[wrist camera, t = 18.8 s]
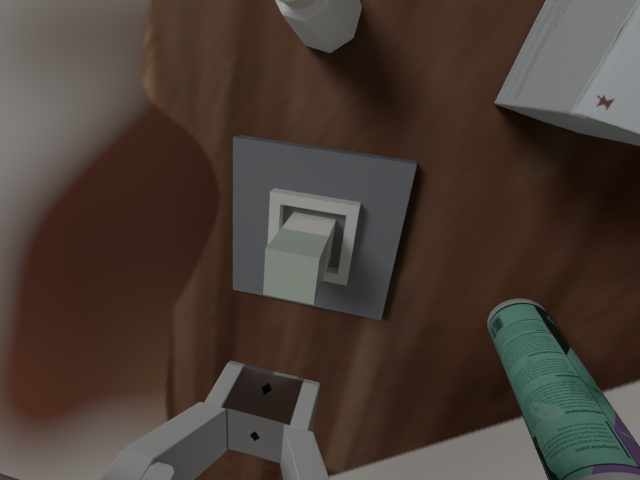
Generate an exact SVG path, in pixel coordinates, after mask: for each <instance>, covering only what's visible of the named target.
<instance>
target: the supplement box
mask: <svg viewBox="0 0 640 480" xmlns="http://www.w3.org/2000/svg"><path fill="white" fill-rule="evenodd" d="M495 104H496V105H499V106H501V107H504V108H507V109H510V110H512V111H515V112H518V113H521V114H523V115H526V116H529V117H532V118H535V119H537V120H540V121H543V122H546V123H549V124H552V125H555V126H558V127H561V128H565V129H568V130H571V131H574V132H577V133H580V134H586V135H590V136H595V137H600V138H605V139H610V140H614V141H619V142H624V143H628V144H633V145H638V146H640V0H546V1H545V3H544V5H543V7H542V9H541V11H540V13H539V15H538V16H537V18H536V20H535V22H534V24H533V26H532V28H531V30H530V32H529V34H528V36H527V38H526V40H525V42H524V44H523V46H522V48H521V50H520V52H519V54H518V56H517V58H516V60H515V62H514V64H513V66H512V68H511V70H510V72H509V74H508V76H507V79H506V81H505V83H504V85H503V87H502V89H501V91H500V93H499V95H498V97H497V99H496V101H495Z"/></svg>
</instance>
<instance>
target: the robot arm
mask: <svg viewBox="0 0 640 480" xmlns="http://www.w3.org/2000/svg"><path fill="white" fill-rule="evenodd" d="M319 390H320V383H319V382H315V381H311V380H307V379H304V378H300V377H295V376H291V375H287V374H282V373H278V372H272V371H268V370H264V369H261V368H257V367H254V366H250V365H246V364H242V363H238V362H235V361H230V362H229V363H228V364H227V365H226V367H225V368H224V370H223V372H222V373H221V375H220V377H219V379H218V380H217V382H216V384H215V385H214V387H213V389H212V390H211V392H210V394H209V396H208V397H207V399H206V401H205V402H204V403H203V402H199V403H197V404H195V405H194V406H192V407H191V408H189V409H187V410H186V411H184V412H182V413H181V414H179V415H178V416H176V417H174V418H173V419H171V420H169V421H168V422H166V423H165V424H163V425H161V426H160V427H158V428H157V429H155V430H153V431H152V432H150V433H148V434H147V435H145V436H143V437H142V438H140V439H139V440H137V441H135V442H134V443H132V444H131V445H129V446H127V447H126V448H124V449H122V451H121V452H120V454H119V455H118V456H117V458H116V459H115V460H114V462H113V463H112V464H111V466H110V467H109V468H108V470H107V471H106V473H105V474H104V475H103V477H102V478H101V479H100V480H194V479H195V478H197V477H198V476H199V475H200V474H201V473H202V472H203V471H204V470H206V469H207V468H208V467H209V466H210V465H211V464H212V463H213V462H215V461H216V460H217V459H218V458H219V457H220V456H221V455H222V454H224V453H225V452H226V451H227V449H231V450H235V451H239V452H243V453H247V454H251V455H255V456H258V457H261V458H265V459H268V460H271V461H274V462H277V463H281V470H282V475H283V480H329V477H328V474H327V471H326V468H325V465H324V463H323V460H322V457H321V454H320V451H319V448H318V445H317V442H316V439H315V436H314V433H313V432H312V428H313V424H314V418H315V413H316V408H317V402H318V396H319ZM0 480H19V479H16V478H13V477H10V476H7V475H4V474H0Z"/></svg>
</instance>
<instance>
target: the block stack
mask: <svg viewBox="0 0 640 480" xmlns="http://www.w3.org/2000/svg"><path fill="white" fill-rule="evenodd" d="M335 224H336V219H330V218H325V217H319V216H313V215H308V214H302V213H296V212H294V213H293V214H292V215H291V216H290V218H289V219H288V220H287V222H286V223H285V224H284V225H283V227H282V228H281V229H280V230H279V232H278V233H277V234H276V235H275V237H274V238H273V239H272V240H271V242H270V243H269V244H268V246H267V247H266V248H265V266H264V286H263V294H264V295H269V296H274V297H278V298H283V299H288V300H293V301H297V302H302V303H307V304H312V305H314V302H315V300H316V297H317V294H318V291H319V288H320V286H321V283H322V280H323V277H324V275H325V272H326V269H327V266H328V264H329V261H330V258H331V251H332V245H333V238H334V231H335Z"/></svg>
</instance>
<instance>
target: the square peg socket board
mask: <svg viewBox="0 0 640 480" xmlns="http://www.w3.org/2000/svg"><path fill="white" fill-rule="evenodd" d="M416 167H417V163H416V161H414V160H407V159H400V158H394V157H387V156H380V155H373V154H366V153H359V152H353V151H346V150H339V149H332V148H325V147H318V146H312V145H305V144H298V143H291V142H284V141H277V140H270V139H264V138H257V137H250V136H243V135H238V136H235V137H233V290H238V291H243V292H248V293H252V294H257V295H262V296H267V297H272V298H276V299H281V300H286V301H291V302H296V303H301V304H305V305H310V306H315V307H320V308H325V309H330V310H334V311H339V312H344V313H349V314H354V315H358V316H363V317H368V318H373V319H378V320H381V318H382V314H383V310H384V305H385V301H386V297H387V292H388V288H389V284H390V279H391V275H392V271H393V266H394V262H395V258H396V253H397V249H398V245H399V240H400V236H401V232H402V227H403V223H404V219H405V214H406V210H407V206H408V201H409V197H410V193H411V188H412V184H413V180H414V175H415V171H416ZM294 212H296V213H302V214H308V215H313V216H319V217H325V218H330V219H336V224H335V231H334V238H333V245H332V251H331V258H330V261H329V264H328V266H327V269H326V272H325V275H324V277H323V280H322V283H321V286H320V288H319V291H318V294H317V297H316V300H315V302H314V305H312V304H307V303H302V302H297V301H293V300H288V299H283V298H278V297H274V296H269V295H264V294H263V286H264V266H265V248H266V247H267V246H268V244H269V243H270V242H271V240H272V239H273V238H274V237H275V235H276V234H277V233H278V232H279V230H280V229H281V228H282V227H283V225H284V224H285V223H286V222H287V220H288V219H289V218H290V216H291V215H292V214H293V213H294Z"/></svg>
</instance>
